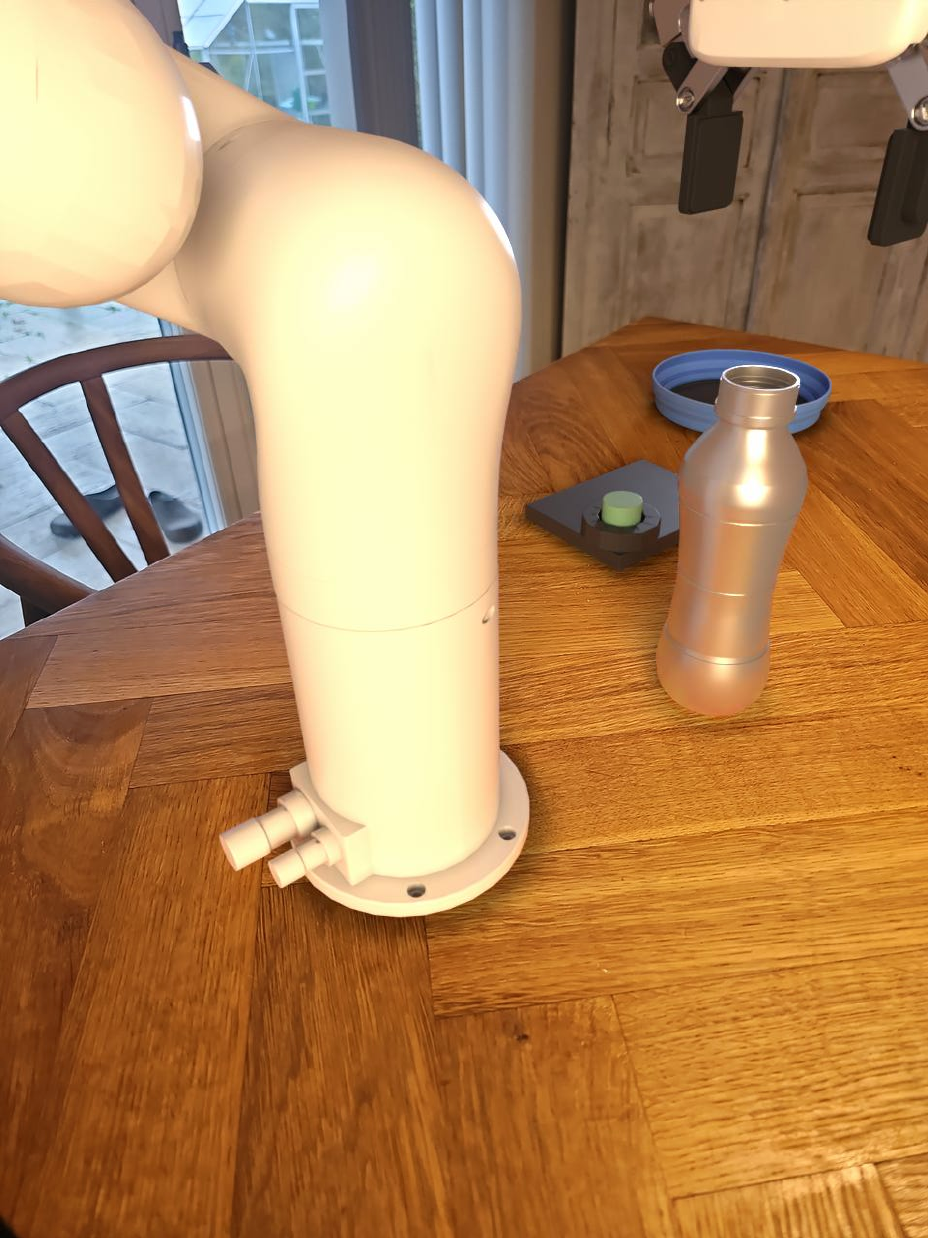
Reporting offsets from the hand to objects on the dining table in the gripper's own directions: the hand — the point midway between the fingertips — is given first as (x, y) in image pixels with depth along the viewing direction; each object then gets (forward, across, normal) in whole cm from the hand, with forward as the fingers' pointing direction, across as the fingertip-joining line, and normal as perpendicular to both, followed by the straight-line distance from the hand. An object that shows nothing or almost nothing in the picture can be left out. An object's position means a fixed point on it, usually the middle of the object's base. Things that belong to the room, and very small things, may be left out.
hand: (791, 224), depth 37 cm
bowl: (+27, -29, +39) cm, 55 cm away
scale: (+27, -19, +13) cm, 35 cm away
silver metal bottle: (+27, 0, 0) cm, 27 cm away
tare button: (+24, -16, +8) cm, 30 cm away
